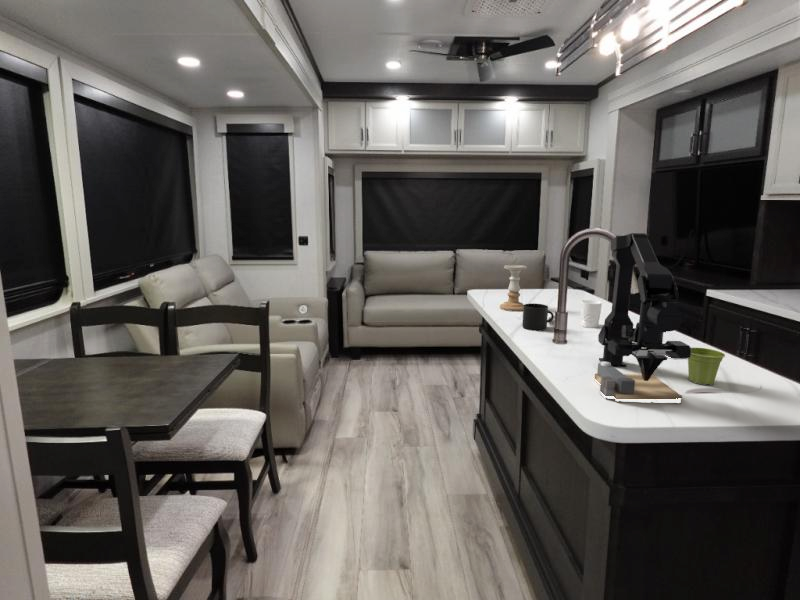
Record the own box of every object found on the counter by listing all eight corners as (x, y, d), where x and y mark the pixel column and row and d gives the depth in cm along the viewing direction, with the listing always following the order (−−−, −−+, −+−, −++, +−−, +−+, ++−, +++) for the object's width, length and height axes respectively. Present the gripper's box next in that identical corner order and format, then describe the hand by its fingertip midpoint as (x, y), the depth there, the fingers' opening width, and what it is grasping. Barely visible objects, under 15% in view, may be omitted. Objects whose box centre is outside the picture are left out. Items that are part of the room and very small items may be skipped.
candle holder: (495, 306, 240) (497, 264, 237) (517, 305, 244) (520, 264, 240) (507, 312, 229) (510, 268, 225) (531, 310, 233) (534, 267, 229)
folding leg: (596, 373, 140) (597, 361, 139) (608, 373, 140) (609, 361, 139) (620, 393, 125) (621, 379, 125) (633, 393, 125) (635, 380, 125)
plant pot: (685, 373, 148) (689, 345, 146) (723, 381, 142) (727, 351, 140) (678, 382, 140) (682, 352, 139) (718, 390, 135) (722, 359, 133)
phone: (668, 343, 177) (693, 356, 162) (668, 346, 177) (693, 359, 162) (646, 343, 176) (669, 356, 162) (646, 346, 177) (669, 359, 162)
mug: (556, 331, 195) (557, 308, 194) (524, 330, 196) (526, 308, 194) (549, 325, 204) (551, 303, 203) (520, 324, 205) (521, 303, 203)
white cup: (596, 324, 208) (598, 300, 206) (602, 328, 200) (604, 304, 198) (577, 323, 208) (578, 299, 207) (581, 328, 201) (583, 303, 199)
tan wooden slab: (587, 380, 141) (588, 363, 140) (652, 381, 141) (654, 364, 140) (608, 402, 125) (610, 383, 125) (681, 404, 125) (683, 384, 124)
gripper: (673, 315, 134) (667, 370, 137) (602, 313, 134) (597, 369, 137) (696, 325, 123) (688, 385, 126) (618, 323, 124) (613, 383, 126)
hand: (645, 380), depth 129 cm, fingers closed
